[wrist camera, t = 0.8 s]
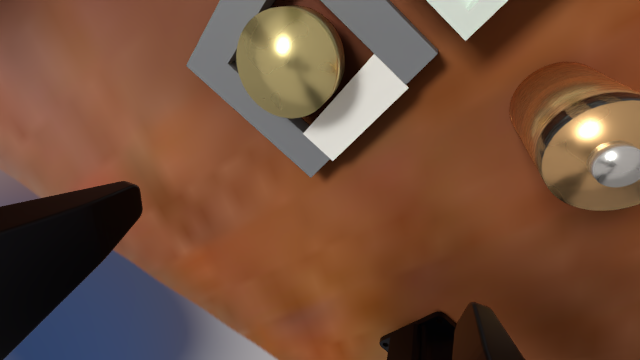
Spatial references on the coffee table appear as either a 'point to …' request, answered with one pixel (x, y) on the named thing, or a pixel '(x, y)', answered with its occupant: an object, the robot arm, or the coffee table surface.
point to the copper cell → (581, 134)
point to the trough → (466, 13)
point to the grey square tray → (348, 106)
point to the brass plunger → (290, 60)
